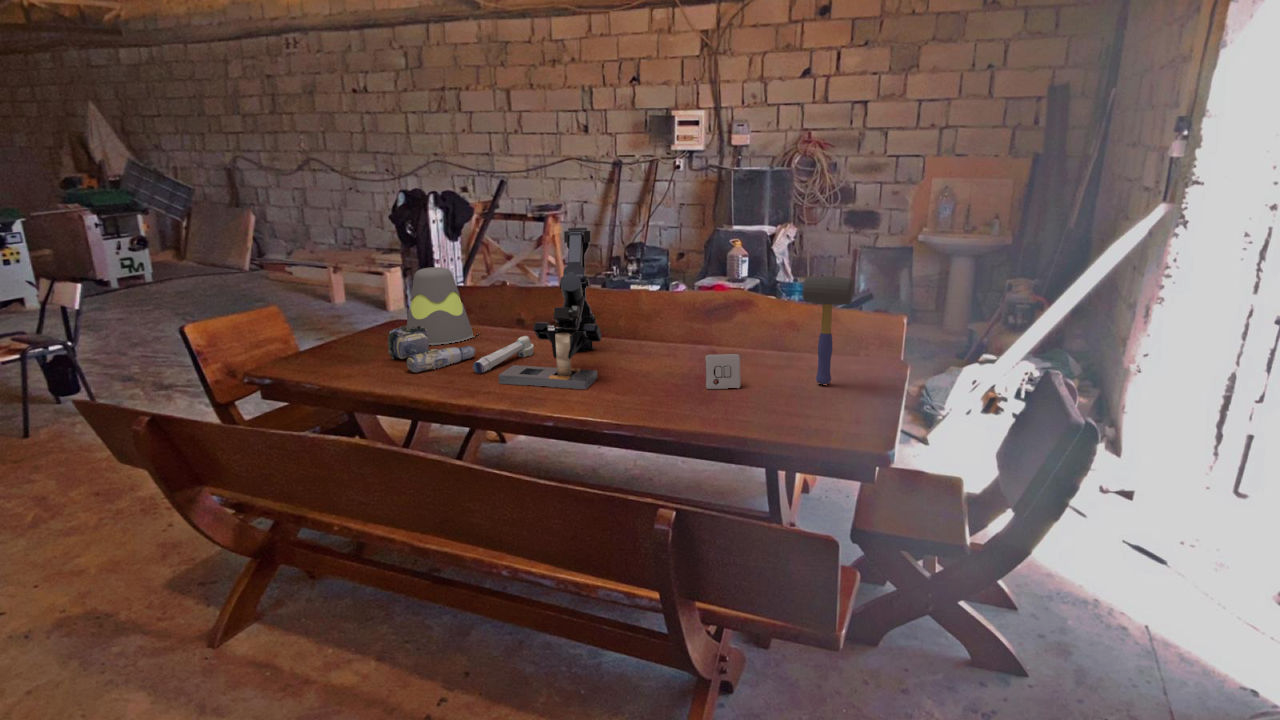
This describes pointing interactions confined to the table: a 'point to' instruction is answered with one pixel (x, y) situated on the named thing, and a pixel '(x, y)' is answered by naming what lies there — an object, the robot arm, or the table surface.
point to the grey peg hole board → (547, 377)
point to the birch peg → (563, 354)
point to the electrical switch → (722, 371)
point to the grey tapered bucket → (438, 307)
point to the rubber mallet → (826, 313)
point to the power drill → (423, 350)
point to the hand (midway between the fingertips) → (562, 357)
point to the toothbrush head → (504, 354)
